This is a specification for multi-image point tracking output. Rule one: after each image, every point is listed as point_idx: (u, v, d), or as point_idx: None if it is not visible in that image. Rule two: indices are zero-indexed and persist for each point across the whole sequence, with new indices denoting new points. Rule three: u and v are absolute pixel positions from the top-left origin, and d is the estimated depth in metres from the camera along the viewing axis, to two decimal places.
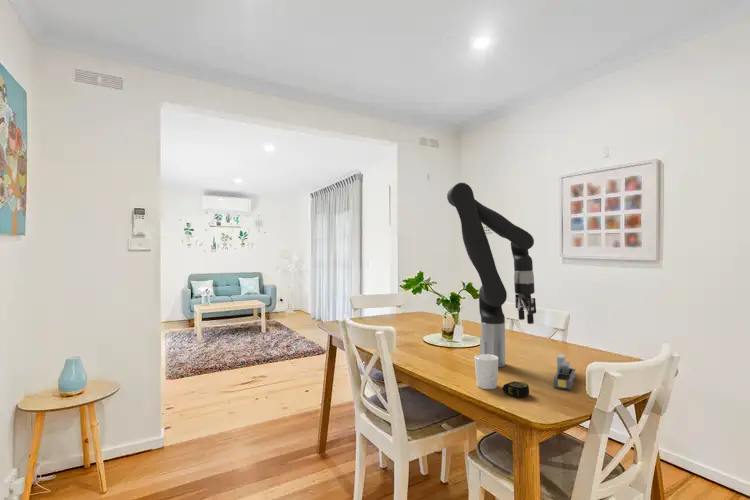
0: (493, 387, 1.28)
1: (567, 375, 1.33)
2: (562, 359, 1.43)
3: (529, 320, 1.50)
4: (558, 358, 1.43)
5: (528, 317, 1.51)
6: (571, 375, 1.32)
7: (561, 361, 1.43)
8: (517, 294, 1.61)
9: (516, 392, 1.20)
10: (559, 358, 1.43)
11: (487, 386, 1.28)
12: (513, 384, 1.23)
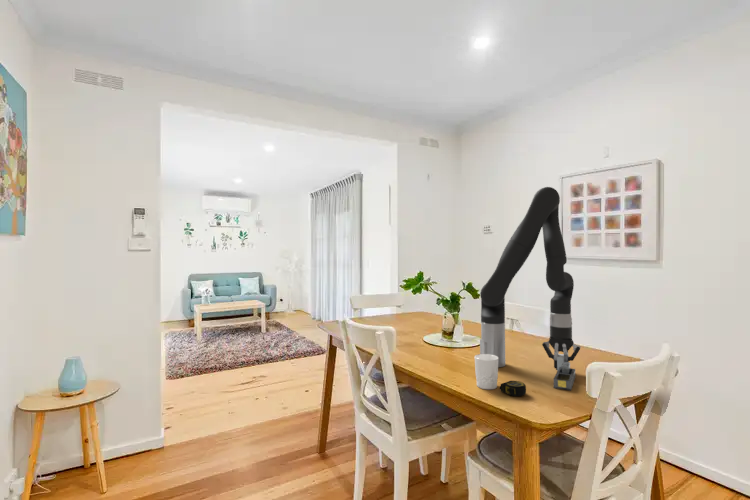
0: (493, 387, 1.28)
1: (567, 375, 1.33)
2: (562, 359, 1.43)
3: None
4: (558, 358, 1.43)
5: None
6: (571, 375, 1.32)
7: (561, 361, 1.43)
8: (543, 342, 1.48)
9: (513, 392, 1.21)
10: (559, 358, 1.43)
11: (487, 386, 1.28)
12: (510, 383, 1.24)
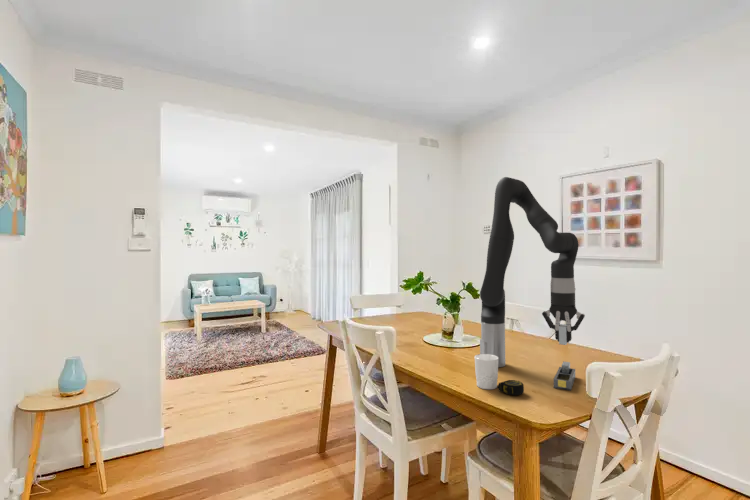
0: (493, 387, 1.28)
1: (567, 375, 1.33)
2: (564, 328, 1.28)
3: (570, 338, 1.29)
4: (560, 327, 1.29)
5: (568, 335, 1.29)
6: (571, 375, 1.32)
7: (563, 331, 1.28)
8: (544, 311, 1.33)
9: (510, 391, 1.22)
10: (561, 327, 1.29)
11: (487, 386, 1.28)
12: (508, 382, 1.25)
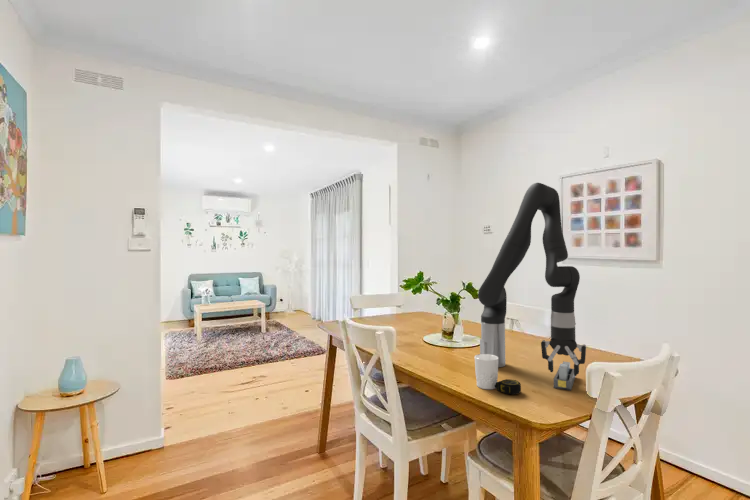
0: (493, 387, 1.28)
1: None
2: (564, 370, 1.28)
3: (577, 371, 1.27)
4: (560, 368, 1.29)
5: (576, 368, 1.27)
6: (571, 375, 1.32)
7: (563, 372, 1.28)
8: (543, 341, 1.33)
9: (508, 390, 1.22)
10: (561, 368, 1.29)
11: (487, 386, 1.28)
12: (505, 382, 1.25)
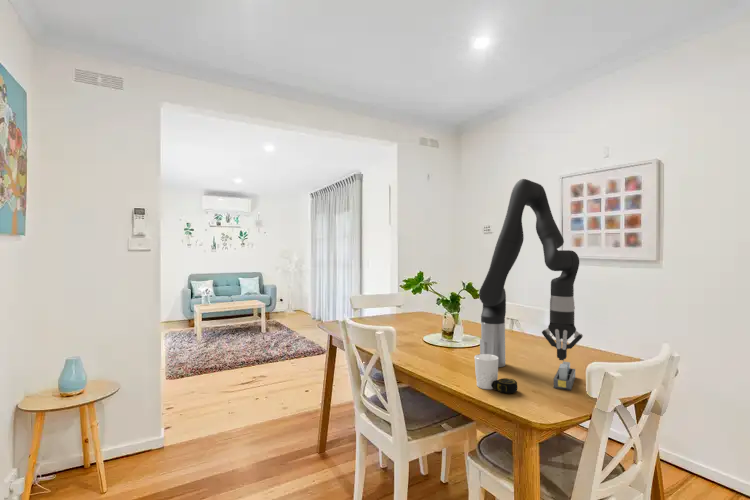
0: None
1: None
2: (564, 370, 1.28)
3: (565, 356, 1.29)
4: (560, 368, 1.29)
5: (563, 353, 1.29)
6: (571, 375, 1.32)
7: (563, 372, 1.28)
8: (543, 330, 1.33)
9: (504, 389, 1.23)
10: (561, 368, 1.29)
11: (487, 386, 1.28)
12: (502, 381, 1.26)
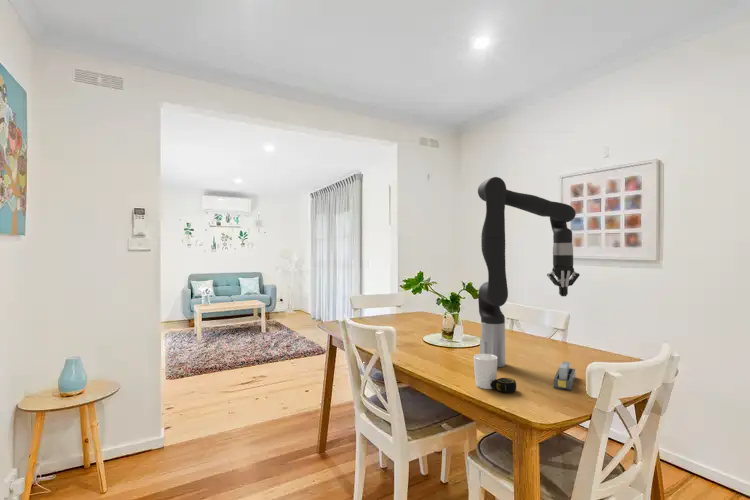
0: None
1: None
2: (564, 370, 1.28)
3: (566, 292, 1.57)
4: (560, 368, 1.29)
5: (566, 290, 1.57)
6: (571, 375, 1.32)
7: (563, 372, 1.28)
8: (550, 273, 1.57)
9: (504, 388, 1.24)
10: (561, 368, 1.29)
11: (486, 386, 1.28)
12: (501, 380, 1.27)
